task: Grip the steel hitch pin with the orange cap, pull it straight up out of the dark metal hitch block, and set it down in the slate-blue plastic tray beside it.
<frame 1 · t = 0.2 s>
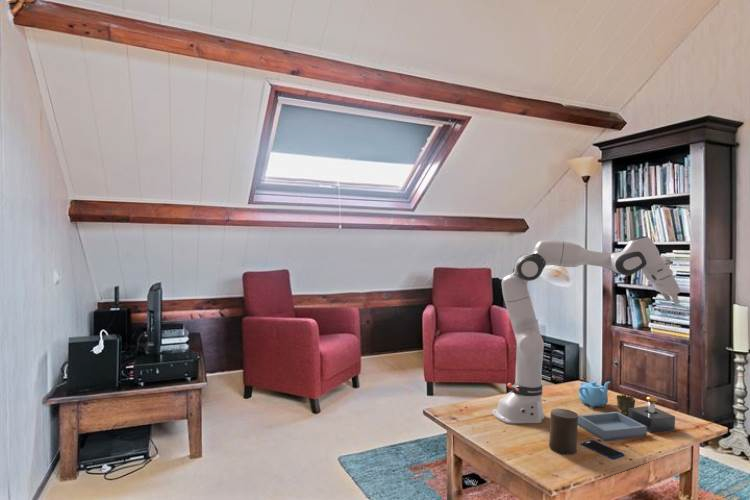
hand: (673, 301, 193), 54 cm above the table, tool tilted 30°, fingers open, 8 cm apart
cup: (625, 415, 211), on the table
cell phone: (602, 451, 176), on the table
hitch block: (650, 426, 198), on the table
pillar candle: (563, 449, 176), on the table
hitch pin: (651, 411, 198), in the hitch block
teapot: (594, 404, 223), on the table
tray: (610, 430, 193), on the table
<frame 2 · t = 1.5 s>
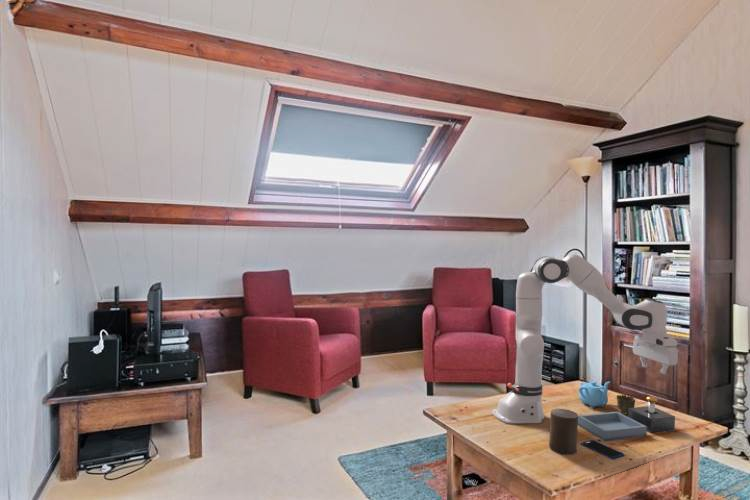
hand: (653, 370, 197), 24 cm above the table, tool pointing down, fingers open, 8 cm apart
nothing on the table moved.
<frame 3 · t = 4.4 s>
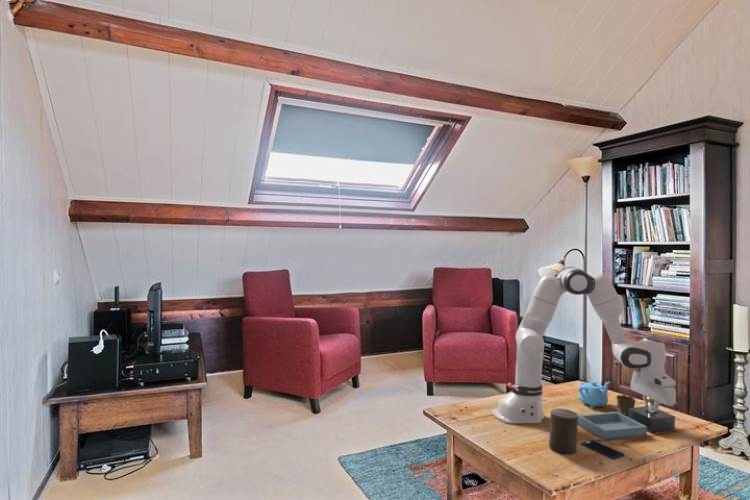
hand: (651, 408, 198), 8 cm above the table, tool pointing down, fingers closed on hitch pin, 2 cm apart
hitch pin: (651, 411, 198), in the hitch block, touching gripper
everything else where it was.
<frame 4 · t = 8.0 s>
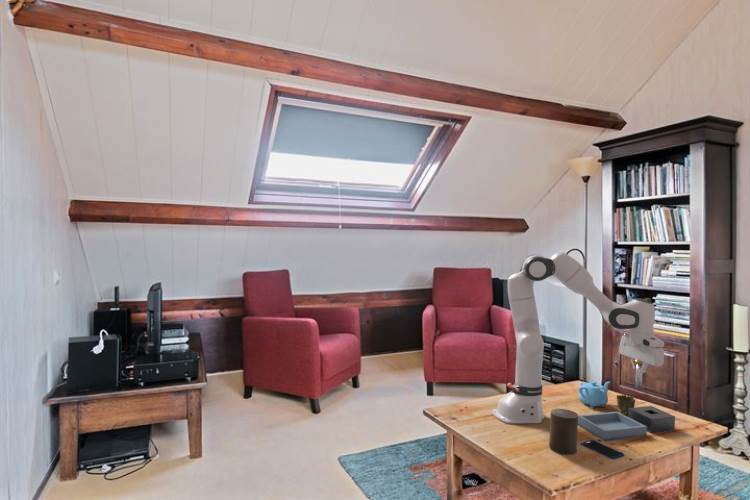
hand: (639, 370, 196), 24 cm above the table, tool pointing down, fingers closed on hitch pin, 2 cm apart
hitch pin: (639, 374, 196), point 22 cm above the table, touching gripper
everything else where it was.
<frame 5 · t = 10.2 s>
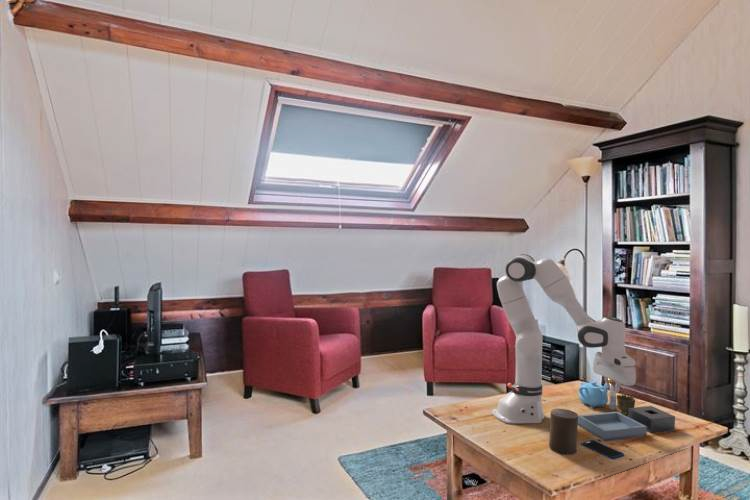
hand: (612, 389, 193), 17 cm above the table, tool pointing down, fingers closed on hitch pin, 2 cm apart
hitch pin: (612, 393, 193), point 16 cm above the table, touching gripper
everything else where it was.
when the fingers open (10 cm above the table, at t = 11.8 s): hitch pin drops 1 cm, resting on tray.
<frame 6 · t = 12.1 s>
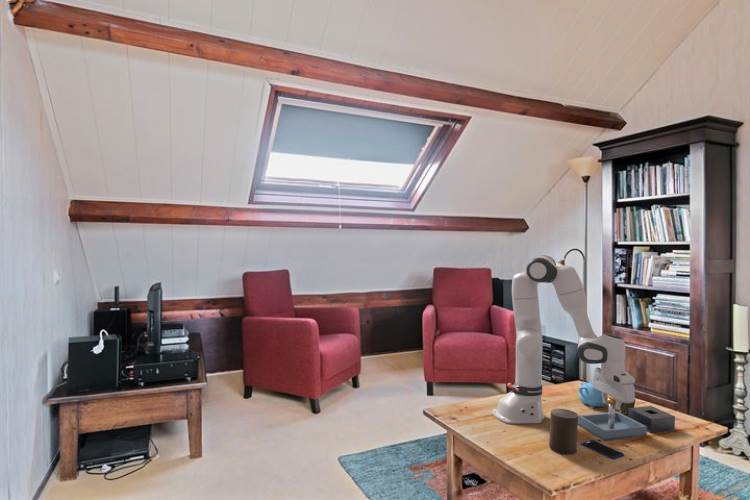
hand: (611, 406, 193), 10 cm above the table, tool pointing down, fingers open, 5 cm apart
hitch pin: (611, 413, 193), in the tray, point 7 cm above the table
everything else where it was.
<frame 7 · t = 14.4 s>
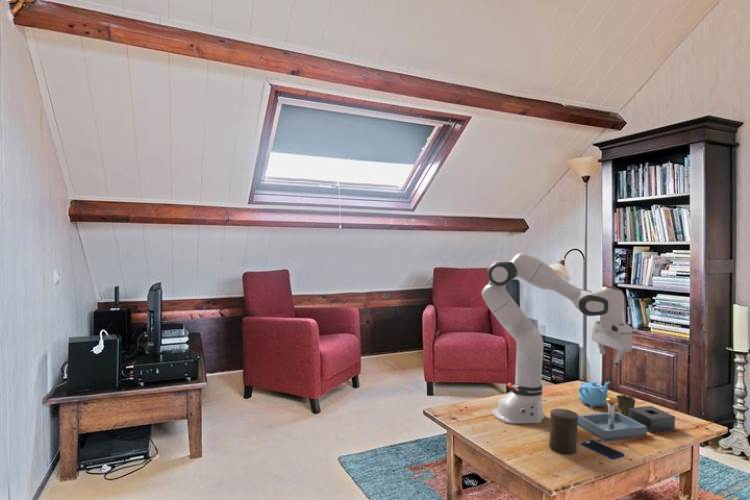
hand: (609, 356, 199), 29 cm above the table, tool pointing down, fingers open, 8 cm apart
nothing on the table moved.
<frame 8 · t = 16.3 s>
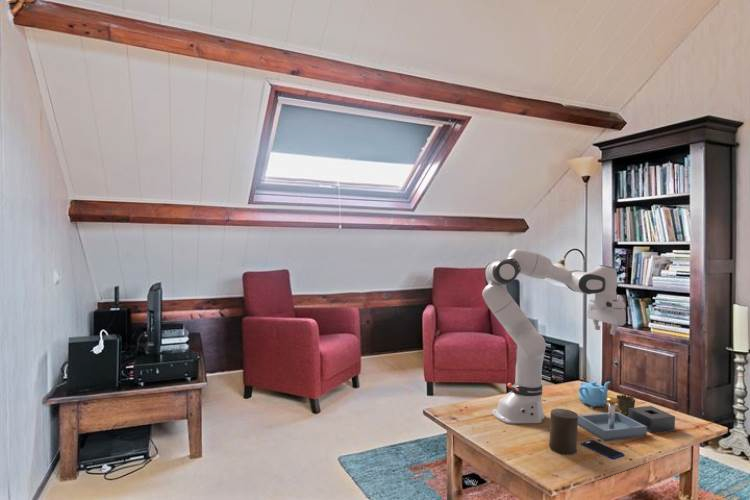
hand: (604, 331, 211), 37 cm above the table, tool pointing down, fingers open, 8 cm apart
nothing on the table moved.
at the end: hitch pin inside the target area on the tray (0.0 cm from its centre), point 7.1 cm above the tray's base; the gripper is holding nothing; hitch pin moved 20.0 cm from its start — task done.
